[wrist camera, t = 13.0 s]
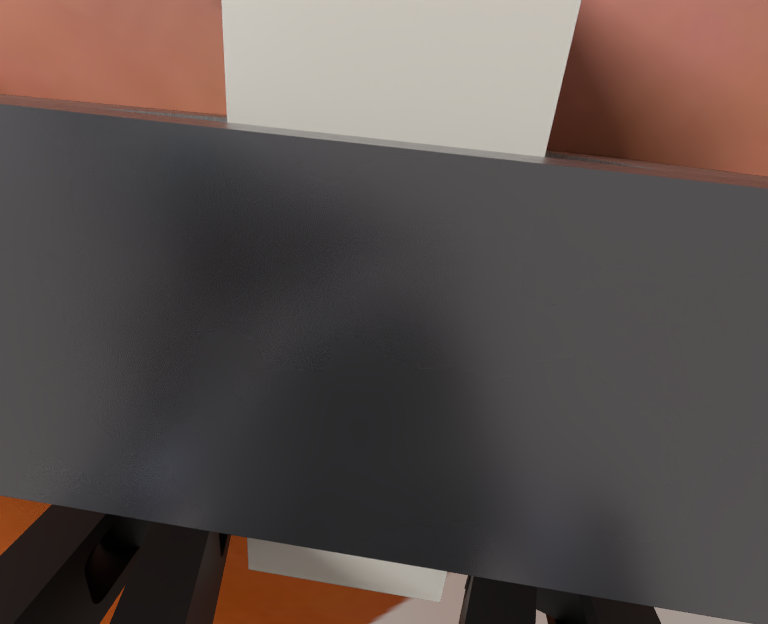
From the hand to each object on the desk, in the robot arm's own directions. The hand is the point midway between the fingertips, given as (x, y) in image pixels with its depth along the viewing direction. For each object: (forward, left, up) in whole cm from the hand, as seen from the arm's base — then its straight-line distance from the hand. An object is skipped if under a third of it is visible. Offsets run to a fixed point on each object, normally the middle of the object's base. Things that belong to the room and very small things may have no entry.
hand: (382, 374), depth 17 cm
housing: (0, +7, -1) cm, 7 cm away
